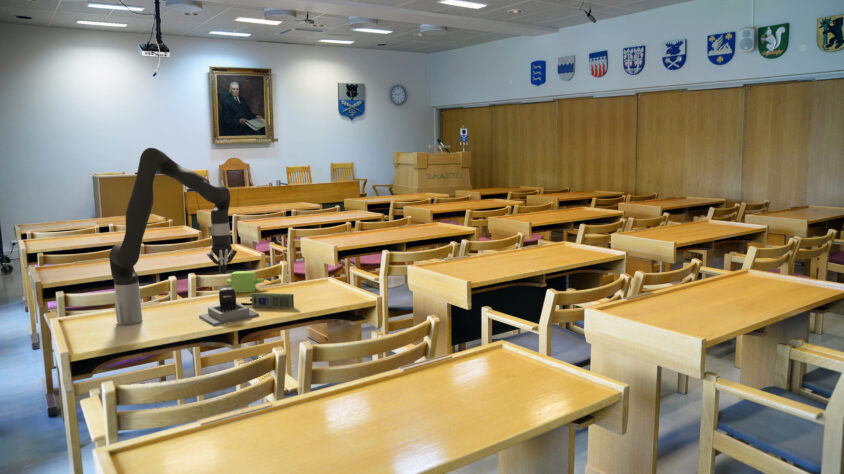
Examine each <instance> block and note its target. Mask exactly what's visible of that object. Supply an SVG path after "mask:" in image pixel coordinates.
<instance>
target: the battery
mask: <svg viewBox="0 0 844 474" xmlns="http://www.w3.org/2000/svg"><path fill="white" fill-rule="evenodd" d="M218 298H219V299H218V302H219V305H220V310H221V312H222V313H223V312H228V311H232V310H237V309H236V302H237V292H236V291H235V289H234V288H232V287H225V288H221V289H219V291H218Z"/></svg>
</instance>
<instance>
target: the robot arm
mask: <svg viewBox="0 0 844 474" xmlns="http://www.w3.org/2000/svg"><path fill="white" fill-rule="evenodd" d="M157 173H158V174H161V175H164V176H167V177H169V178H171V179H174V180H176V181H177V182H178V183H180V184H182V185H183V186H184V187H186V188H188V189H190V190H191V191H192V192H193V191H194V192H195V193H198V195H199V196H201V197H202V198H203V199H204V200H205V201H207V202H209V203H211V204H214V207H213V209H212V210H211V211H210V219H211V220H210V223H211V224H210V225H211V226H210V234H211V245H212V246H211V248H210V249H211V250H210V252H207V253H206V256H207V258H209V259H210V260H211V262H213V264H215V265H217V266H218V272H219V273H220V274H222V275H223V274H226V273H227V271H228V270H227V269H228V267H227V266H228V265H227V264H230V263H231V262H232V260H233V259H234V258H235V256H236V255H237V253H238V251H237V250H235V249H234V248H233V247H232V245H231V229H230V223H229V222H230V221H229V220H230V219H229V209H230V205H231V193H230V190H229V188H228V187H227V186H225V185H217V186H215V185H212V184H211V181H209V179H208V178H206V177H204V176H203V175H200V174H198V173H196V172H195V171H192V170H190V169H188V168H185V167H183V166H182V165H180V164H178V163H177V162H175V161H174V160H173V159H172V158H171V157H169V156H168V155H167V154H166V153H165V152H163V151H162V150H160V149H157V148H155V147H153V146H151V147H147V148H146V149H144V150H143V152H142V153H141V155H140V157H139V163H138V169H137V173H136V178H135V182H134V184H133V188H132V191H131V194H130V198H129V201H128V203H127V206H126V211H125V233H124V237H123V239H122V243H121V244H120V243H119V244H116V245H114V246H113V247H111V249H110V251H109V257H108V259H109V267H110V273H111V276H112V279H113V283H114V293H115V301H114V308H115V316H116V318H115V319H116V323H117V322H118V323H119V324H118V323H117V324H118V325H119V326H121V325H122V326H132V325H136V324H139V323H141V322H143V314H142V313H143V312H142V304H141V293H140V284H139V275H138V274H137V272H136V271H135V267H134V266H136V265H137V263H138V262H139V259H140V255H141V249H142V244H143V239H144V235H145V233H146V232H145V231H146V230H147V225H148V222H149V219H150V217H151V213H152V209H153V207H154V206H153V205H154V201H155V200H154V196H155V195H154V180H155V176H156V174H157ZM215 257H216V258H215Z"/></svg>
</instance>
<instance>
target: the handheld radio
mask: <svg viewBox="0 0 844 474" xmlns="http://www.w3.org/2000/svg"><path fill="white" fill-rule="evenodd" d="M249 297H250V298H249V301H250V302H241V303H240V304H242V305H244V306H246V307H251V308H255V309H257V308H262V309H263V308H264V309H286V308H293V309H294V308H295V303H294V301H295V300H294V293H268V292H266V293H265V292H249Z"/></svg>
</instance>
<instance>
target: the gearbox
mask: <svg viewBox="0 0 844 474" xmlns="http://www.w3.org/2000/svg"><path fill="white" fill-rule="evenodd" d="M264 282H265V278H263V277H262V278H256V271H254V270H253V271H252V270H251V271H250V270H245V271H242V270H241V271H234V272H233V271H232V273H231V275H230V278H227V279H226V285H231V286H230V288H234V289H235V291H236V293H255V291H256V289H255V288H257V285H256V284H261V283H264Z"/></svg>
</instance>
